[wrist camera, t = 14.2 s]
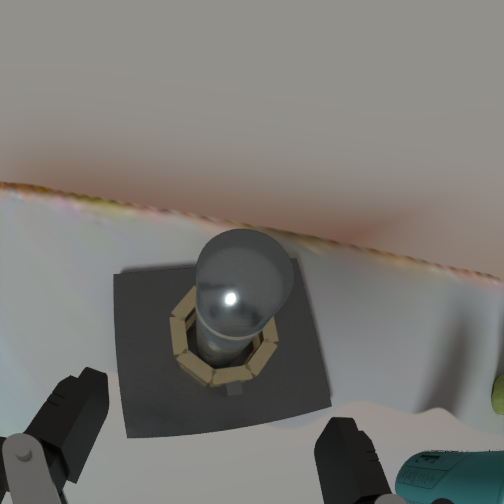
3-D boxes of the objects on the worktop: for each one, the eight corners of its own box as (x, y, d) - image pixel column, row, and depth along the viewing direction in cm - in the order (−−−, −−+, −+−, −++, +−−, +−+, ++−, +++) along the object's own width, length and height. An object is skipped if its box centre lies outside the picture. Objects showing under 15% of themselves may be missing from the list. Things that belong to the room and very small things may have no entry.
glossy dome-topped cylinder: (199, 370, 24) (201, 326, 10) (193, 328, 25) (190, 231, 11) (242, 364, 25) (305, 312, 11) (235, 323, 26) (282, 225, 12)
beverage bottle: (394, 511, 20) (545, 540, 2) (376, 471, 22) (548, 489, 5) (435, 476, 22) (582, 473, 4) (420, 436, 24) (581, 416, 7)
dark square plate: (130, 436, 21) (108, 447, 15) (116, 279, 27) (97, 244, 21) (326, 406, 25) (364, 404, 19) (292, 263, 31) (316, 227, 25)
